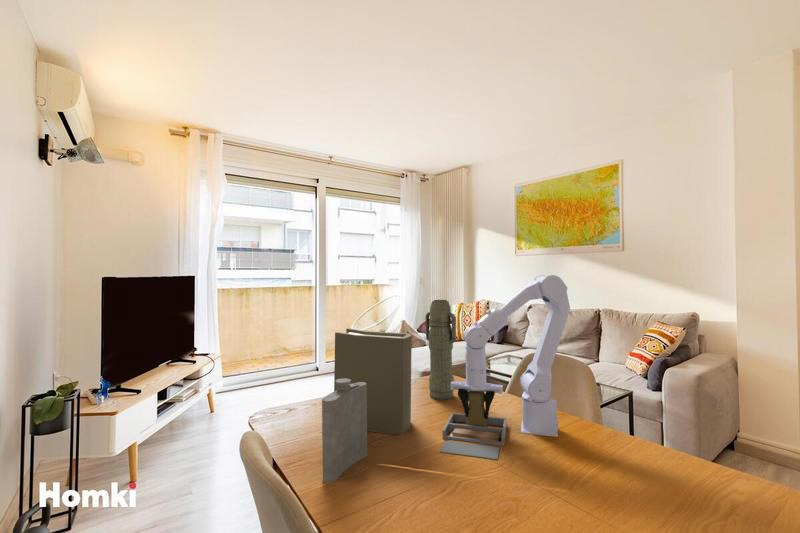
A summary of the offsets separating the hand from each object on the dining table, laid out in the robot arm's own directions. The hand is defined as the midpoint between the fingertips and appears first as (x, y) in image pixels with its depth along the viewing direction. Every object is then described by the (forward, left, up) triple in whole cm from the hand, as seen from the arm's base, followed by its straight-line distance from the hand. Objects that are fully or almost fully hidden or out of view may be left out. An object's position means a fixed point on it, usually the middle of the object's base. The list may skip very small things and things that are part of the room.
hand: (476, 416), depth 111 cm
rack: (0, +3, -4) cm, 4 cm away
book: (+29, +6, -4) cm, 30 cm away
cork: (0, 0, -4) cm, 4 cm away
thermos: (+16, -27, -4) cm, 32 cm away
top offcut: (0, +7, -3) cm, 7 cm away
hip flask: (+27, +30, -4) cm, 40 cm away
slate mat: (0, +14, -4) cm, 15 cm away
